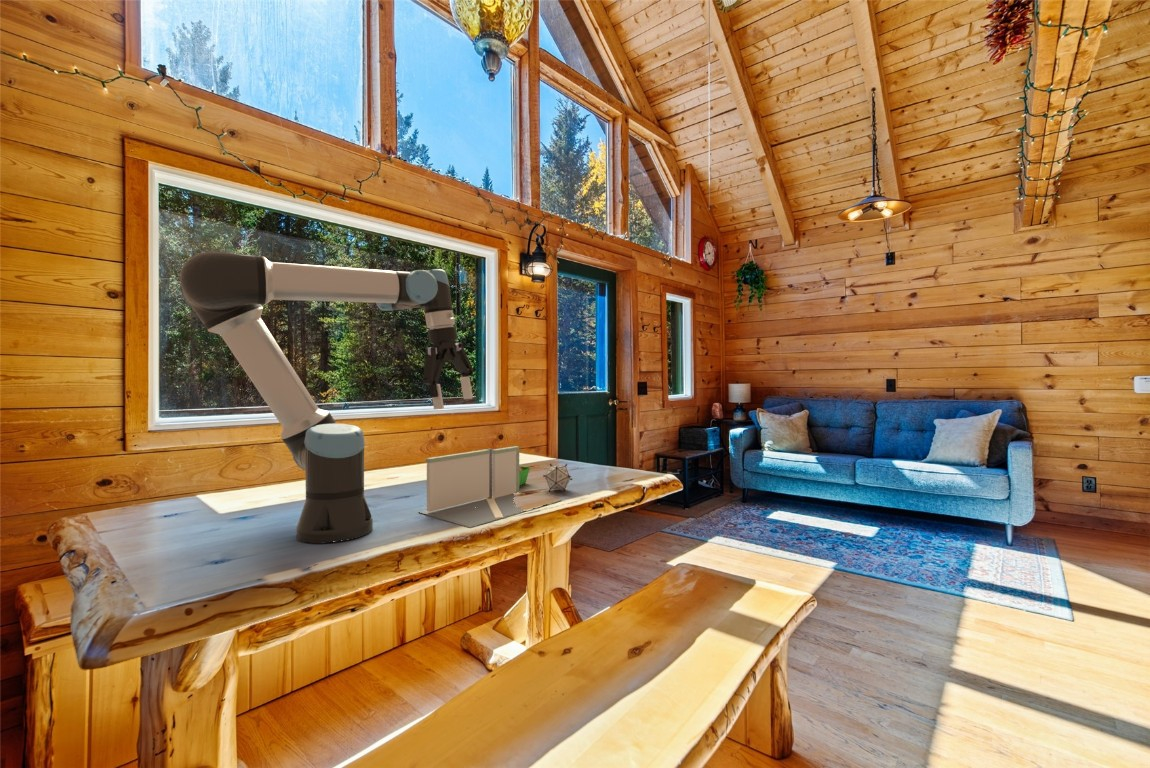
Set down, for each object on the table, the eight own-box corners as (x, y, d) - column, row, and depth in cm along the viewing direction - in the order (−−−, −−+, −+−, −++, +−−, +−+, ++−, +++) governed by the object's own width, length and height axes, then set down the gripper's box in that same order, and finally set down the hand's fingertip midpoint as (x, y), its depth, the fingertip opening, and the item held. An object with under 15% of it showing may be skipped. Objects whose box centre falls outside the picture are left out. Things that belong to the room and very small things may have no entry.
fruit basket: (515, 490, 154) (515, 453, 154) (489, 488, 157) (489, 451, 157) (531, 483, 165) (531, 448, 165) (506, 481, 168) (506, 446, 167)
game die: (562, 501, 155) (580, 474, 158) (559, 498, 147) (578, 469, 150) (538, 485, 158) (556, 458, 160) (533, 481, 150) (553, 452, 152)
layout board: (470, 528, 116) (470, 526, 116) (418, 512, 129) (418, 511, 129) (561, 501, 141) (561, 499, 141) (510, 490, 154) (510, 489, 154)
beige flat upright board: (430, 513, 127) (430, 458, 127) (426, 512, 128) (426, 457, 128) (493, 497, 143) (493, 448, 143) (489, 496, 144) (489, 448, 144)
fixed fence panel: (495, 498, 144) (495, 450, 144) (491, 497, 145) (491, 449, 145) (519, 492, 151) (519, 446, 151) (515, 491, 152) (515, 446, 152)
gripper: (422, 329, 127) (437, 412, 130) (478, 323, 150) (489, 394, 152) (399, 332, 130) (413, 414, 133) (457, 326, 153) (468, 396, 155)
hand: (454, 403), depth 143 cm, fingers open, 13 cm apart
